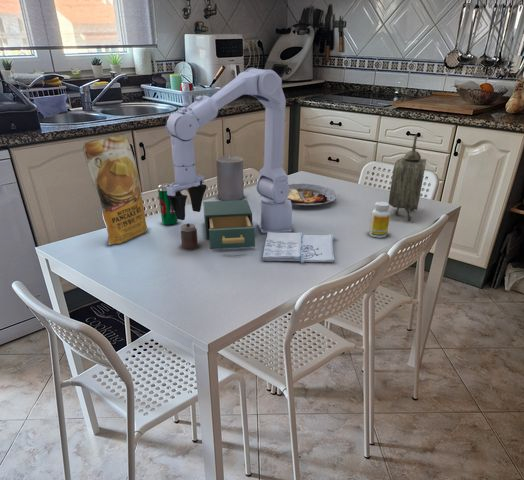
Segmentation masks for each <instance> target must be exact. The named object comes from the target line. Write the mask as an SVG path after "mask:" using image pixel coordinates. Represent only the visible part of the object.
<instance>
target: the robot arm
mask: <svg viewBox="0 0 524 480" xmlns="http://www.w3.org/2000/svg"><path fill="white" fill-rule="evenodd" d="M282 84H283V78H281V76H280V75H279V74H278V73H277V72H276V71H274V70H273V69H262V68H261V69H260V68H255V67H249V68H247V69H246V70H244V71H242V72H239V73H238V74H237V76H236V77H234V78H233V79H232V80H231V81H229V82H228V83H227V84H226V85H224V86H223V87H222V88H220V89H219V90H218V91H216V92H215V93H214V94H213V95H211V96H208V95H198V96H195V101H193V102H192V103H191V104H189V105H188V106H186V107H185V106H183V107H181V108H180V112H173V113H172V114H170V115H169V116H168V119H167V121H166V124H165V126H164V127H165V130H166V132H167V134H168V135H169V137H170V144H171V155H172V164H173V165H172V166H173V174H174V181H173V182H172V183H170V184H171V185H170V186H169V187H167V193H166V197H167V199H168V200H169V201H170V203H171V205H172V207H173V209H174V211H175V214H176V217H177V219H178V221H179V220H180V221H185V220H186V202H187V199H188V195H187V194H183V193H182V192H183V191H186V190H187V192H188V194H189V198H190V203H191V204H190V205H191V209H192V212H196V213H201V209H202V205H203V198H204V195H205V193H206V190H207V187H208V186H207V184H204V183H205V175H204V174H197V168H196V154H195V153H196V152H195V144H194V143H195V142H194V138H195V137H196V135H197V132H198V131H199V130H201V128H203V127H204V126H206V125H207V124H209V123H210V122H211V121H213V120H215V118H217V117H218V113H219V110H220V109H222V108H223V107H225V106H227V105H228V104H229V103H231V102H233V101H235V100H236V99H238V98H240V97H241V96H243V95H248V96H252V97H253V98H255V99H257V100H258V101H259V102H260V104H262V105H263V107H264V108H265V116H264V149H263V150H264V152H263V153H264V154H263V167H262V168H261V169H260V170H259V171H258V179H257V182H256V187H255V188H256V191H257V193H258V195H259V196H260V197H259V198H260V222H259V223H257V225H258V228H259V230H260V233H261V234H267V232H272V233H273V232H277V233H293V232H292V231H293V230H292V227H293V226H292V225H293V223H292V222H293V205H292V204H291V200H286V199H287V198H288V196H289V192H290V188H289V185H290V184H289V177H288V174H287V172H286V170H285V169H284V168H283V167H284V165H283V164H284V148H285V147H284V146H285V145H284V144H285V123H286V105H287V103H286V102H287V99H286V96H285V93H284V91H283V87H282Z"/></svg>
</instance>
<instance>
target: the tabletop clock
mask: <svg viewBox="0 0 524 480" xmlns="http://www.w3.org/2000/svg"><path fill="white" fill-rule="evenodd" d="M417 140H418V135H417V134H415V135H414V138H413V142H412V147H411V150H410V151H409V150H408V151H407V152H406V153H405V154H404V156H403V157H400V158H399V159H396V160H395V163H394V165H393V171H392V174H391V175H392V177H391V182H390V188H389V189H390V190H389V197H388V203H389V206H391V207H392V208H395V209H396V210H394V211H393V214H394V215H395V216H399V213H400V211H399V209H404V210H405V213H406V214H407V217H406V221H407V222H412V221H413V217H412V216H410V212H414V211H415V210H416V211H417V210H418V208H419V207H418V206H419V203H420V198H421V192H422V185H423V181H424V176H425V169H426V165H427V159H426V158H422V157H421V153H420V152H419V151H417V150H416V149H417Z"/></svg>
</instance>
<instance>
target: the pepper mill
mask: <svg viewBox="0 0 524 480" xmlns="http://www.w3.org/2000/svg"><path fill="white" fill-rule="evenodd" d="M197 229H198V228H197V227H196V224H194V223H183V224H181V226H180V230H179V232H180V239H181V240H180V241H181V248H182V249H183V250H187V251H188V250H189V251H191V250H195V249H198V247H199V242H198V231H197Z"/></svg>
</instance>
